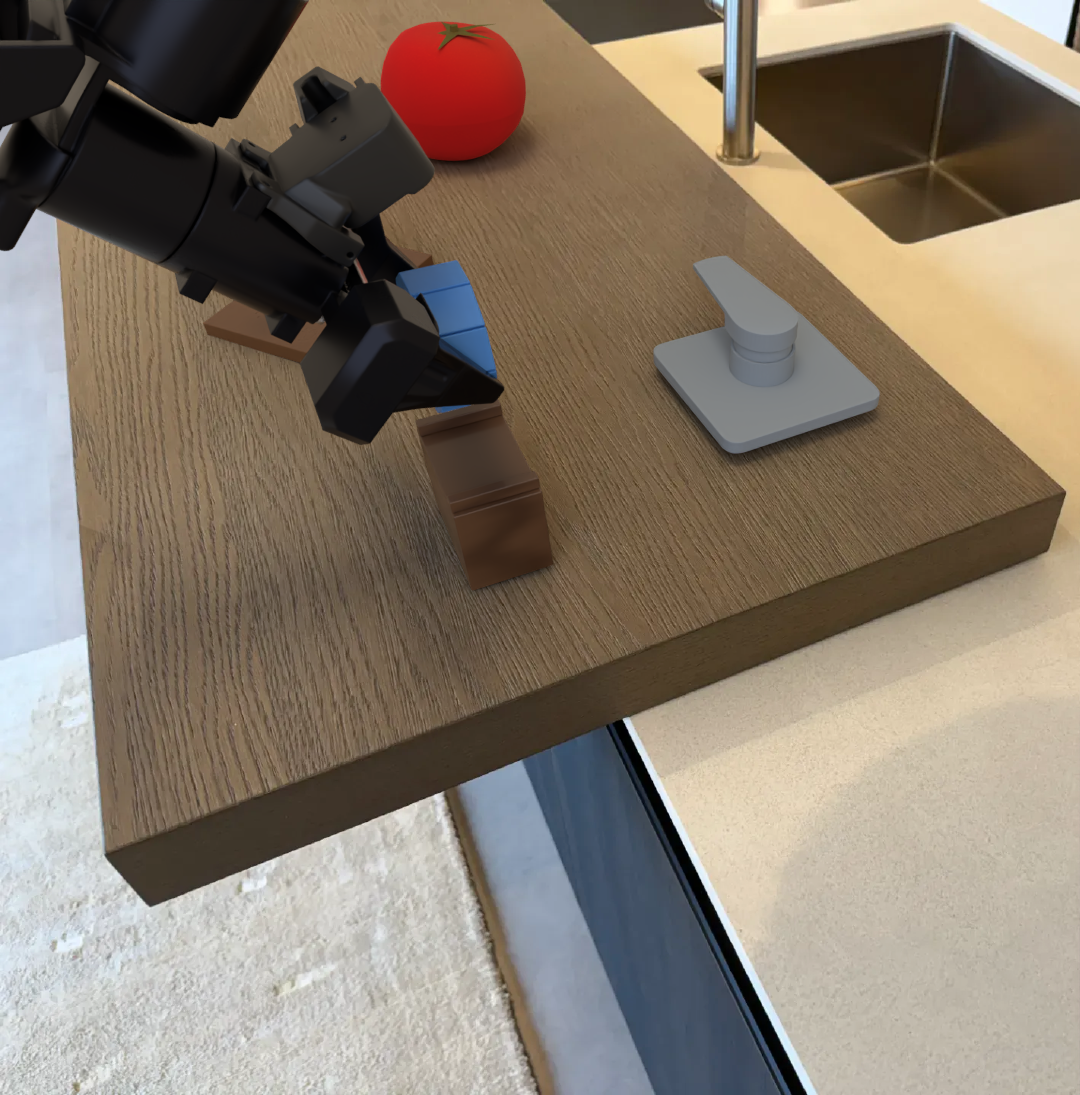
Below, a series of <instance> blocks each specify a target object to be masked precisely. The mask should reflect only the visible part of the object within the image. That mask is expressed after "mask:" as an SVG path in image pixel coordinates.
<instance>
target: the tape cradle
mask: <svg viewBox="0 0 1080 1095" xmlns="http://www.w3.org/2000/svg"><path fill="white" fill-rule="evenodd" d="M503 413H504V412H503V408H502V404H501V402H500V400H499V398H498V399H497V401H496V402H494V403H491V404H477V405H470V406H467V407H463V408H459V409H455V410H451V411H448V412H444V413H437V414H433V415H429V416H425V417H422V418H418V419H415V421H414V422H415V425H416V426H415V427H416V431H417V435H418V440H419V442H420V447H421V450H422V454H423V459H424V462H425V466H426V470H427V473H428V477H429V481H430V485H431V488H432V493H433V496H434V500H435V503H436V506H437V508H438V510H439V513H440V516H441V518H442V520H443V522H444V525H445V528H446V530H447V533H448V535H449V538H450V541H451V544H452V545H453V547H454V551H455V552H456V555H457V557H458V560H459V563H460V565H461V567H462V571H463V573H464V575H465V577H466V580H467V583H468V585H469V587H470V591H476V590H479V589H483V588H485V587H488V586H491V585H494V584H498V583H500V582H505V581H507V580H510V579H514V578H517V577H520V576H522V575H527V574H529V573H533V572H535V571H539V570H542V569H545V568H547V567H551V566H553V565H554V559H553V553H552V545H551V540H550V534H549V528H548V521H547V520H548V519H547V515H546V514H547V513H546V508H545V501H544V495H543V491H542V489H541V484H540V478H539V476H538V474H537V472H536V470H532V469H531V467H530V465H529V463H528V461H527V459H526V458H525V455H524V454H523V452H522V449H521V448H520V446H519V443H518V441H517V439H516V438H515V436H514V434H513V432H512V430H511V428H510V426H509V424H508V422H507V421H506V418H505V416H504V414H503Z"/></svg>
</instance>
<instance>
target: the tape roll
mask: <svg viewBox="0 0 1080 1095" xmlns="http://www.w3.org/2000/svg"><path fill="white" fill-rule="evenodd" d="M396 285H397V286H398V287H400V288H402V289H404V290H405V291H407V292H408V293H409V294H410V295H411V296H412V297H414V298H415V299H416V298H417V296H418V295H419V294H420V293H422V294H423V296H424V298H425V300H426V301H427V303H428V305H429V307H430V309H431V311H432V313H433V315H434V317H435V319H436V321H437V323H438V326H439V336H440V338H442V339H443V340H444V341H446V342H447V343H449V344H450V345H451V346H453V347H454V348H456V349H457V350H458V351H460V352H461V353H462V354H464V355H465V356H467V357H468V358H469V359H471V360H472V361H474V362H475V363H476V364H478V365H479V366H481V367H482V368H483V369H485V370H486V371H487V372H488V373H490V374H491V375H492V376H494V377H495V378H496V379H497V380H498V371H497V366H496V362H495V358H494V354H493V349H492V346H491V341H490V337H489V333H488V329H487V326H486V323H485V319H484V317H483V314H482V311H481V308H480V305H479V302H478V299H477V297H476V294H475V292H474V288H473V286H472V285H471V281H470V279H469V277H468V276H467V274H466V272H465V271H464V269H463V267H462V265H461V263H460V262H459V260H457V259H454V260H450V261H445V262H441V263H437V264H434V265H431V266H427V267H422V268H418V269H413V270H408V271H404V272H399V273H398V275H397V277H396ZM467 406H471V405H462V406H448V407H434V409H435V411H436V412H437V414H441V413H444V412H448V411H452V410H456V409H460V408H463V407H467Z"/></svg>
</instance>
